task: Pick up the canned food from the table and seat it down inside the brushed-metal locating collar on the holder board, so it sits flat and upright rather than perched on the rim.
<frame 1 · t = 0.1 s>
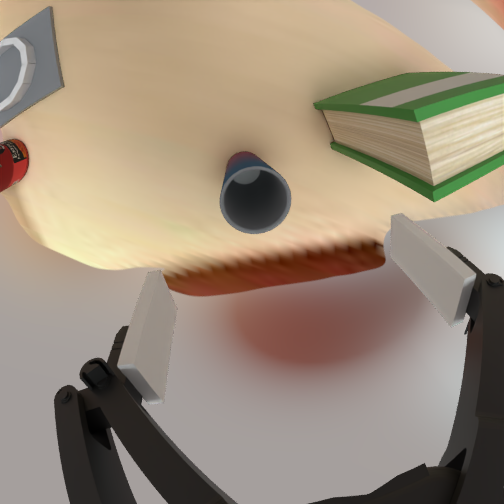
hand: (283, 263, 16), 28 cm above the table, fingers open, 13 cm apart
cup: (244, 168, 41), on the table
holder: (12, 74, 27), on the table
canned food: (15, 160, 35), on the table
hardback book: (371, 107, 37), on the table
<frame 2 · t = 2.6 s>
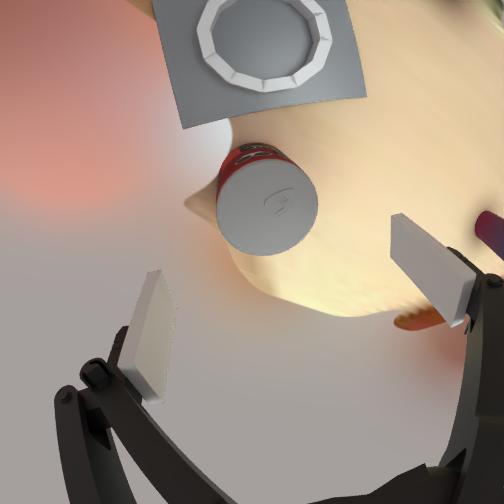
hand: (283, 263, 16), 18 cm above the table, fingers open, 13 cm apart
cup: (483, 223, 37), on the table
holder: (261, 38, 24), on the table
canned food: (254, 175, 31), on the table
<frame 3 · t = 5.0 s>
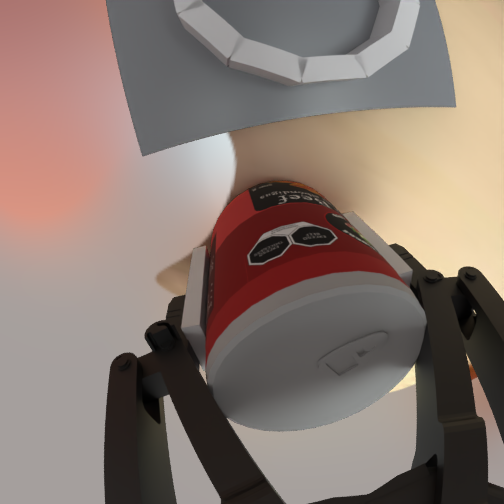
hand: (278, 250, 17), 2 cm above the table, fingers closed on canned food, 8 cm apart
canned food: (273, 235, 19), on the table, touching gripper
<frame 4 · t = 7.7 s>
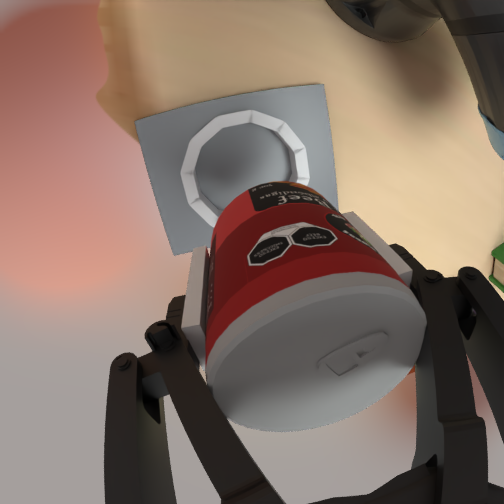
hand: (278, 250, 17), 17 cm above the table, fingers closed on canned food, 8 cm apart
holder: (243, 167, 31), on the table
canned food: (273, 235, 19), point 15 cm above the table, touching gripper
when the fingers open (6 cm above the table, at t = 10.9 s): canned food drops 3 cm, resting on holder.
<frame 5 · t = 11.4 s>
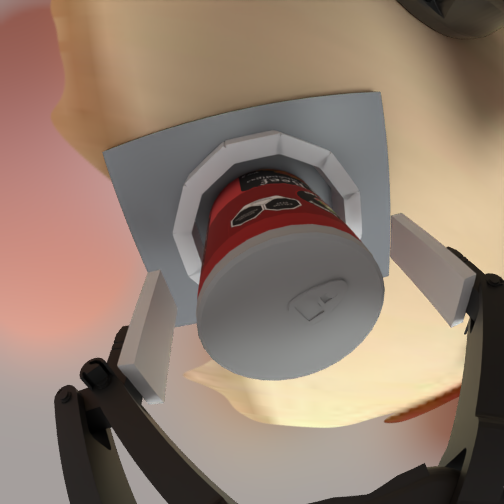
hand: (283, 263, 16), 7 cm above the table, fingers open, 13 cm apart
holder: (265, 214, 22), on the table
canned food: (263, 218, 21), point 1 cm above the table, touching holder
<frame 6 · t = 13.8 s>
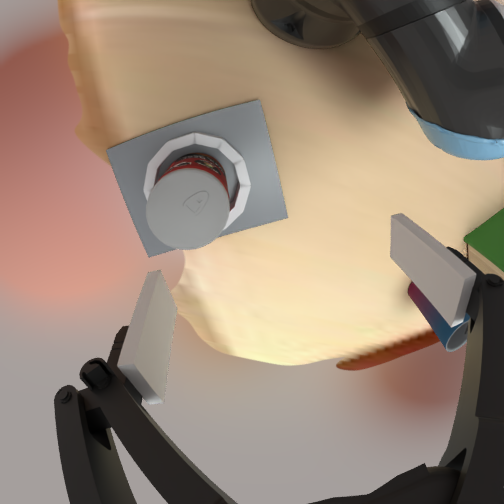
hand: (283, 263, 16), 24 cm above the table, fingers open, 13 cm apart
cup: (417, 286, 49), on the table
holder: (198, 180, 36), on the table
canned food: (195, 181, 35), point 1 cm above the table, touching holder
hardback book: (489, 232, 46), on the table
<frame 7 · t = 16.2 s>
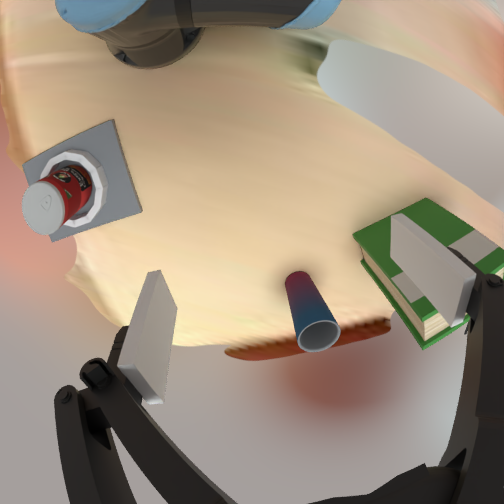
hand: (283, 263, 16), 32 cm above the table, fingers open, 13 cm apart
cup: (297, 281, 55), on the table
holder: (77, 184, 42), on the table
canned food: (74, 186, 41), point 1 cm above the table, touching holder
hardback book: (394, 230, 52), on the table
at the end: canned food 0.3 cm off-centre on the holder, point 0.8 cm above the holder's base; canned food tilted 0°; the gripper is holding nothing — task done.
